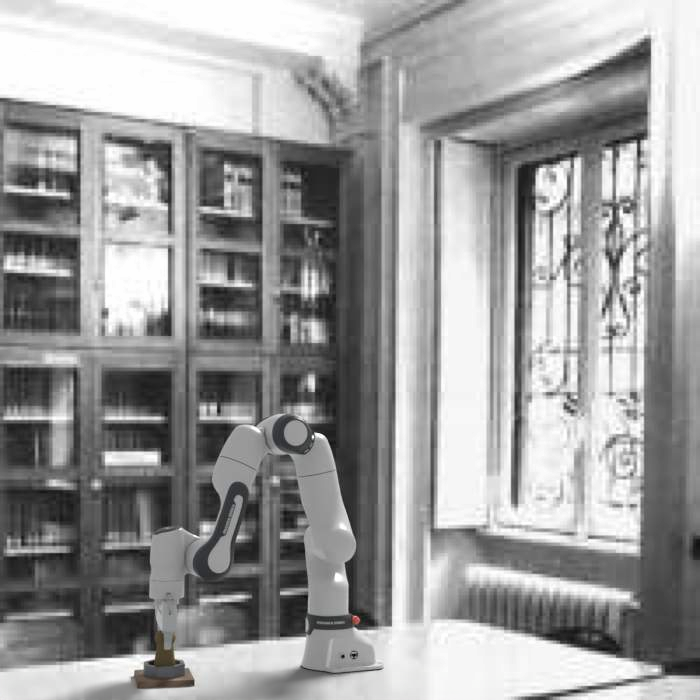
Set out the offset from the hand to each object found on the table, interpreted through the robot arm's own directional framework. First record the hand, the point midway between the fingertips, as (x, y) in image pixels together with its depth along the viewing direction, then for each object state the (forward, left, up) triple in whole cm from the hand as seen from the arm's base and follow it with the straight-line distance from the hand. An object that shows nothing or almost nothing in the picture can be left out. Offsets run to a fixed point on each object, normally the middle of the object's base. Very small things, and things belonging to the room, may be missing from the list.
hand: (165, 645), depth 278 cm
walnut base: (0, 0, -9) cm, 9 cm away
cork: (0, 0, -8) cm, 8 cm away
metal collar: (0, 0, -7) cm, 7 cm away
